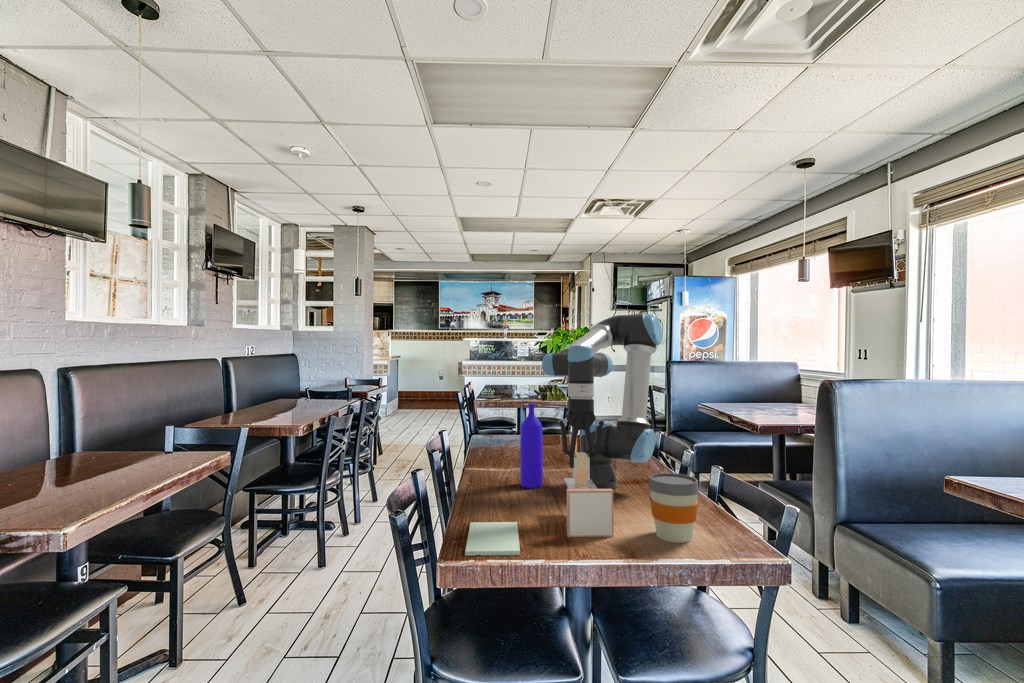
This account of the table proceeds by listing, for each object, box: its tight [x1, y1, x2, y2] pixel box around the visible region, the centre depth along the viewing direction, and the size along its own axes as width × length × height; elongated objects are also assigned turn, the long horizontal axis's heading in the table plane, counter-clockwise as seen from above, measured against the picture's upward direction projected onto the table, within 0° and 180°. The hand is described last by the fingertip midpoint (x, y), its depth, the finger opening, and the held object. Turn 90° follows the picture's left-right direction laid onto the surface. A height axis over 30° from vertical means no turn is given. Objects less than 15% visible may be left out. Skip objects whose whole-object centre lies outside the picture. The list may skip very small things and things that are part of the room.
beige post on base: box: [563, 452, 598, 489], centre depth 137 cm, size 16×8×10 cm, turn 1°
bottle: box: [519, 403, 544, 489], centre depth 174 cm, size 8×8×30 cm
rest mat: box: [464, 521, 521, 557], centre depth 122 cm, size 20×13×1 cm, turn 1°
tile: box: [566, 488, 615, 538], centre depth 124 cm, size 2×12×12 cm, turn 91°
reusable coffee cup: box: [648, 472, 700, 544], centre depth 124 cm, size 13×13×15 cm
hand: (581, 478), depth 137 cm, fingers closed on beige post on base, 3 cm apart
